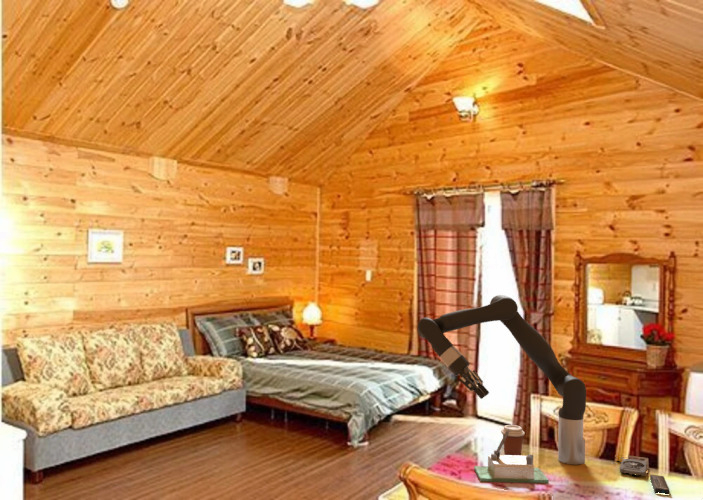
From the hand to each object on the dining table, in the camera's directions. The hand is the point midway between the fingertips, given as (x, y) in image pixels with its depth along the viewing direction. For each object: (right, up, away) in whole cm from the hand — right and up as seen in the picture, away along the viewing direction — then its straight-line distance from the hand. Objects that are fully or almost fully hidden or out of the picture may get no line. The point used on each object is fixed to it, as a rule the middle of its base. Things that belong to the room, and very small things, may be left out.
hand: (485, 395), depth 223 cm
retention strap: (+6, -17, -3) cm, 18 cm away
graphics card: (+56, -30, +4) cm, 64 cm away
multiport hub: (+58, -29, -14) cm, 67 cm away
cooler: (+8, -28, -5) cm, 30 cm away
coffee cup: (+15, -29, +17) cm, 36 cm away
